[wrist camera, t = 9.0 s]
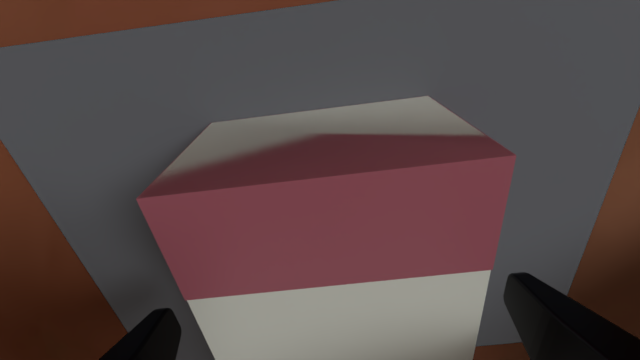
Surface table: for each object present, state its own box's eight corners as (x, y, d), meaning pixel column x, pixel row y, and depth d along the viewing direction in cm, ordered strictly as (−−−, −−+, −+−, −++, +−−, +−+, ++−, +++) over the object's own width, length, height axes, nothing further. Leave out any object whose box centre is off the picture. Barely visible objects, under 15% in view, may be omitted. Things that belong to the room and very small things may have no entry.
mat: (675, -46, 7) (698, -50, 7) (542, 329, 14) (550, 339, 13) (-34, 53, 8) (-55, 55, 8) (161, 364, 15) (156, 375, 14)
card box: (417, 314, 12) (458, 433, 9) (273, 328, 13) (257, 449, 9) (428, 95, 8) (516, 155, 5) (211, 122, 8) (136, 198, 5)
